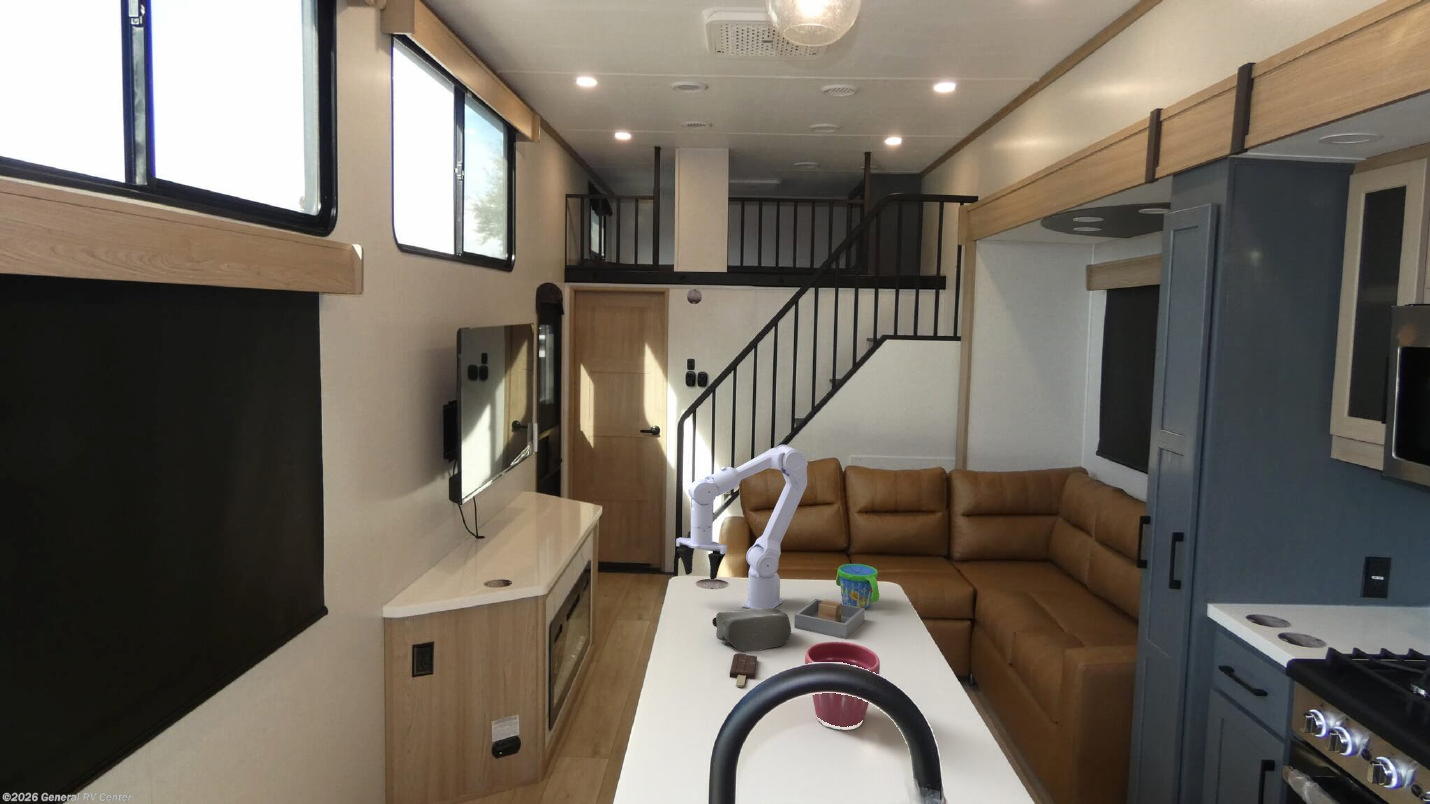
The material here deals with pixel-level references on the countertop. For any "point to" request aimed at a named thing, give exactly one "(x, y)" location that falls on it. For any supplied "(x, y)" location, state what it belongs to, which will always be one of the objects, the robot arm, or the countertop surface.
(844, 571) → the snack cup
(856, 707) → the plant pot
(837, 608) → the walnut block
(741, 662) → the ice cream bar
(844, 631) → the bin
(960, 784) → the countertop surface
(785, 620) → the grey rounded lump
